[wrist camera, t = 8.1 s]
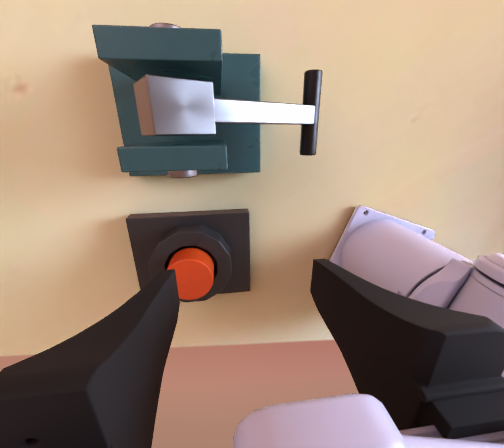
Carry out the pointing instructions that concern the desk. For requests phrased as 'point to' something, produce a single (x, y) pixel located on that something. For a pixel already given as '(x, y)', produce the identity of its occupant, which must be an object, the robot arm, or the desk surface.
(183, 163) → the bracket
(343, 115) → the desk surface
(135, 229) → the control block
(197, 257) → the button
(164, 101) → the lever
